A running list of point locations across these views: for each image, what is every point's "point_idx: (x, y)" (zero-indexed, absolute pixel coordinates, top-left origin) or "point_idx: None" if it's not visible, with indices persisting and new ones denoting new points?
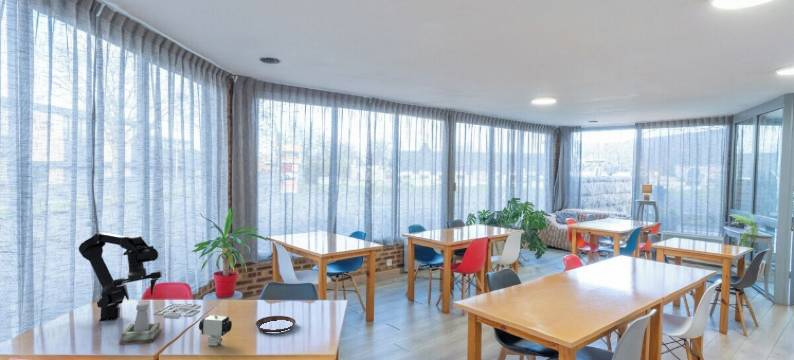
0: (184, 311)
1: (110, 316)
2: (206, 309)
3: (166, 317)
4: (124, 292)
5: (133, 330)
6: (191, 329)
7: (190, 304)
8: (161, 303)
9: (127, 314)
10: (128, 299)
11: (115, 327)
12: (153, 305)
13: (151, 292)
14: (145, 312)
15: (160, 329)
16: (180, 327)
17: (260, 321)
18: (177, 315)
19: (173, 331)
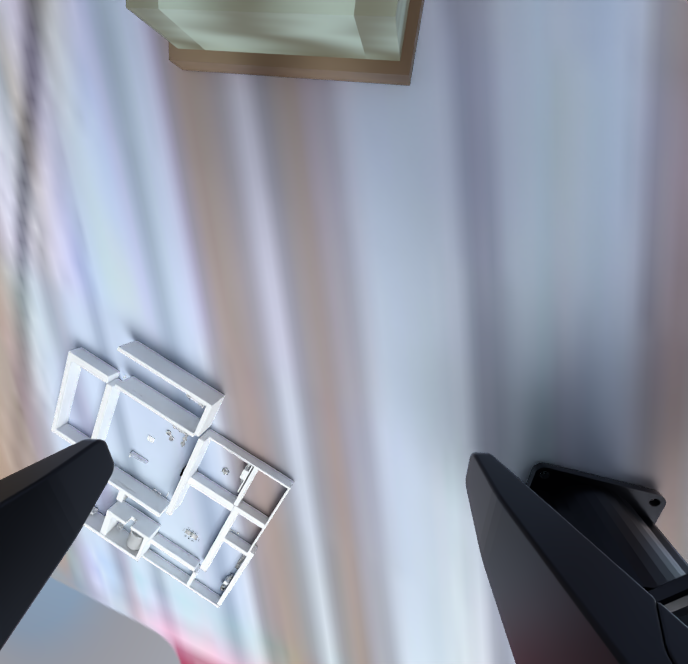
0: (134, 454)
1: (584, 501)
2: (39, 442)
3: (208, 385)
4: (671, 647)
5: None
6: (2, 56)
7: (121, 541)
8: (281, 644)
9: (454, 548)
10: (473, 459)
11: (527, 287)
12: (318, 634)
13: (41, 469)
14: None
15: (169, 42)
16: (79, 129)
17: None
18: (128, 351)
19: (99, 38)
